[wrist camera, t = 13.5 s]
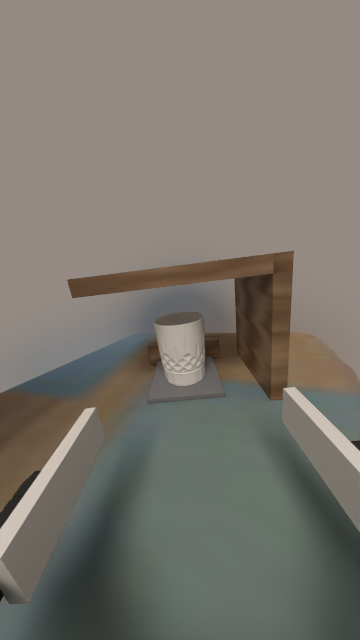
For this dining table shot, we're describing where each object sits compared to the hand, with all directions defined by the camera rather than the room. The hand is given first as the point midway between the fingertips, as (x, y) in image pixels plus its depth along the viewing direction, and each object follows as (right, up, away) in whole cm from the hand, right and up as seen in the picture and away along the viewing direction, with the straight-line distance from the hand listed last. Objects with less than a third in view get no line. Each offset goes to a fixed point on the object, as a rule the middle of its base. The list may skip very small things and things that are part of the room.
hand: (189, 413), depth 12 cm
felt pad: (0, -3, +17) cm, 18 cm away
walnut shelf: (+1, -3, +17) cm, 18 cm away
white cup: (0, -3, +17) cm, 17 cm away
